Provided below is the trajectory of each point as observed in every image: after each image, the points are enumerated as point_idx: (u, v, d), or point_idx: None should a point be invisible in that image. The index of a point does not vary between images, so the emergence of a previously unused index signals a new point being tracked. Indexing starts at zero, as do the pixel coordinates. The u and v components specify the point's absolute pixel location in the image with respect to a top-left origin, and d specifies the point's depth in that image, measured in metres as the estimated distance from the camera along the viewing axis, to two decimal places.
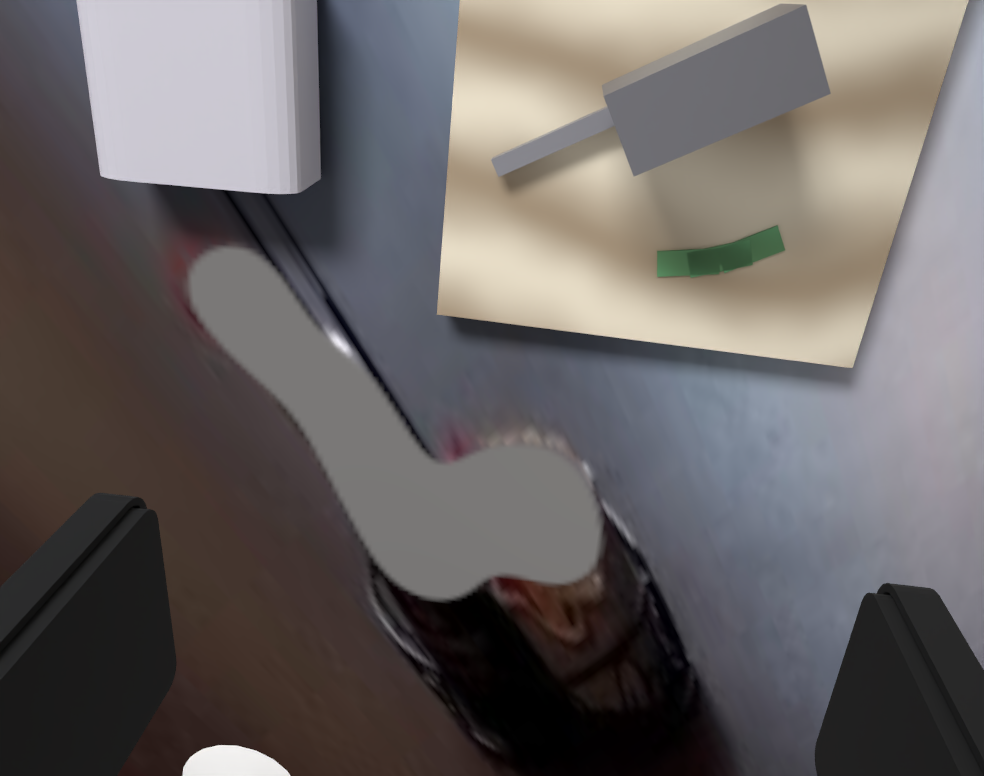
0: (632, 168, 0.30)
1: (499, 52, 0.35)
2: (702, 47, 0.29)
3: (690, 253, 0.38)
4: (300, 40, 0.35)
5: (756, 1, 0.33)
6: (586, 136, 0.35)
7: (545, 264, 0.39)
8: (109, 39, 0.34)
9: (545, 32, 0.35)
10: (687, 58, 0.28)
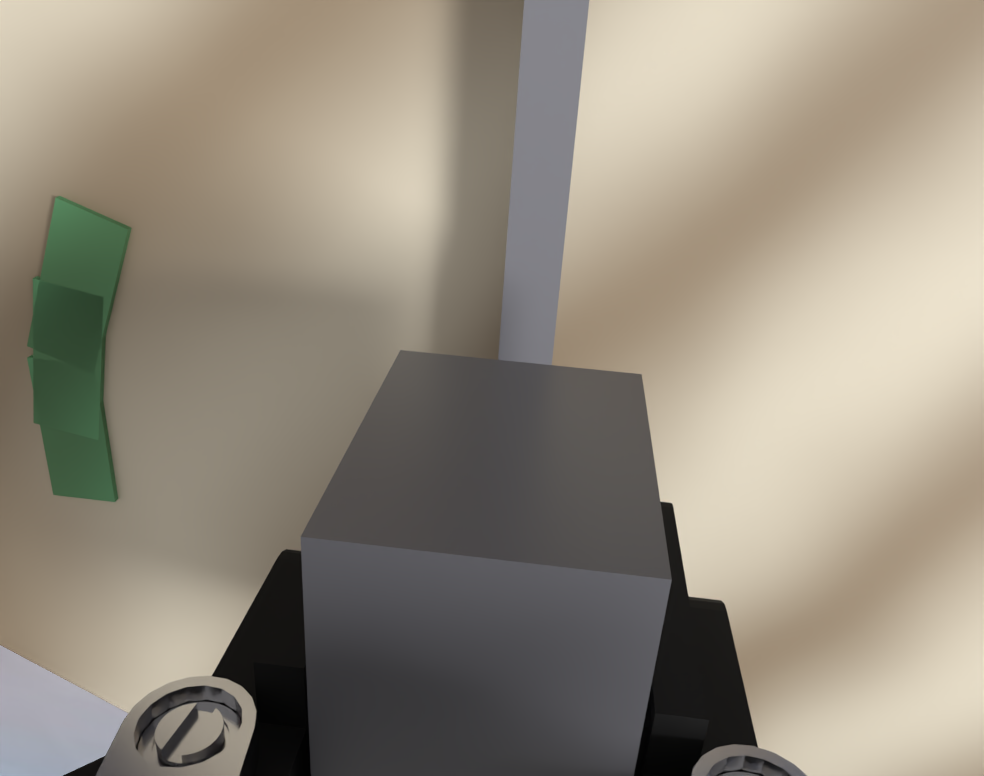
0: (335, 547, 0.07)
1: (864, 67, 0.11)
2: None
3: (100, 304, 0.14)
4: None
5: None
6: (513, 214, 0.11)
7: None
8: None
9: (822, 217, 0.12)
10: None
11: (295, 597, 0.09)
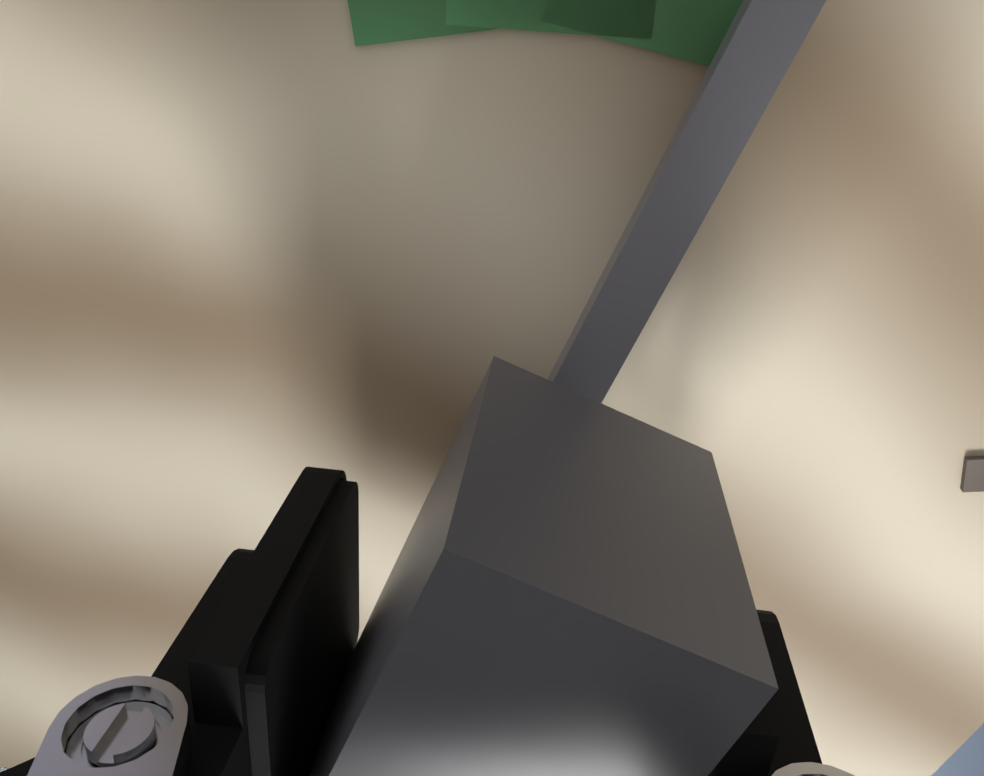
0: (474, 568, 0.07)
1: (912, 670, 0.15)
2: None
3: (639, 32, 0.11)
4: None
5: None
6: (624, 254, 0.11)
7: None
8: None
9: (795, 668, 0.15)
10: None
11: (236, 596, 0.09)
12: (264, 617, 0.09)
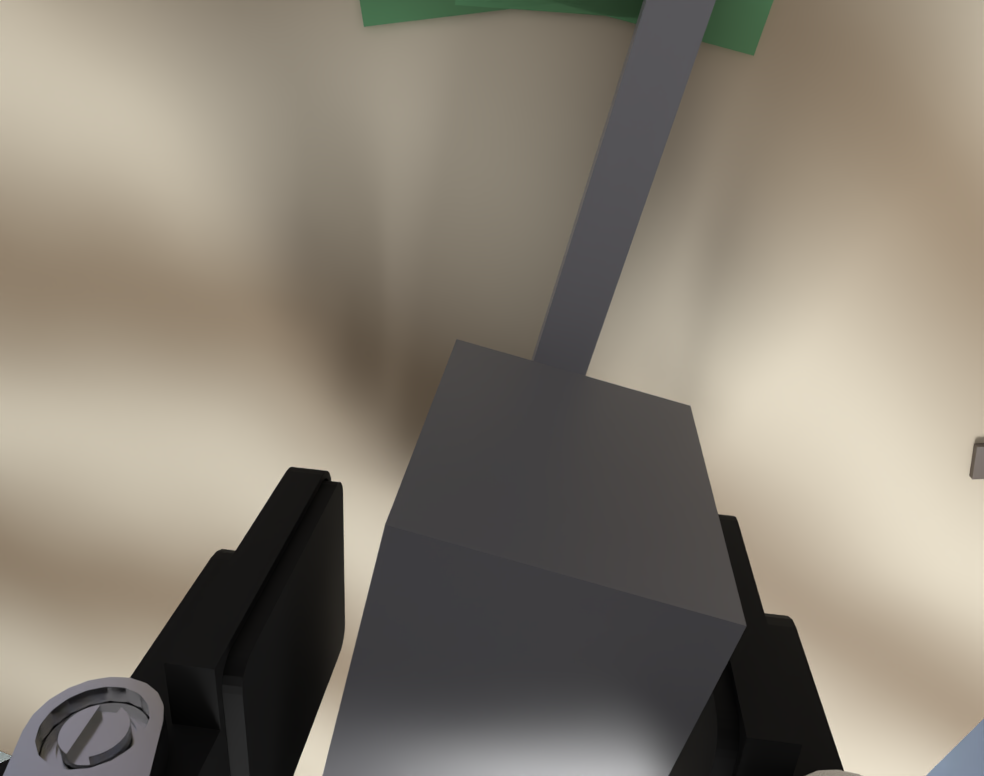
0: (418, 541, 0.07)
1: (919, 658, 0.15)
2: None
3: None
4: None
5: (355, 562, 0.16)
6: (581, 221, 0.11)
7: None
8: None
9: None
10: None
11: (215, 597, 0.09)
12: (243, 619, 0.09)
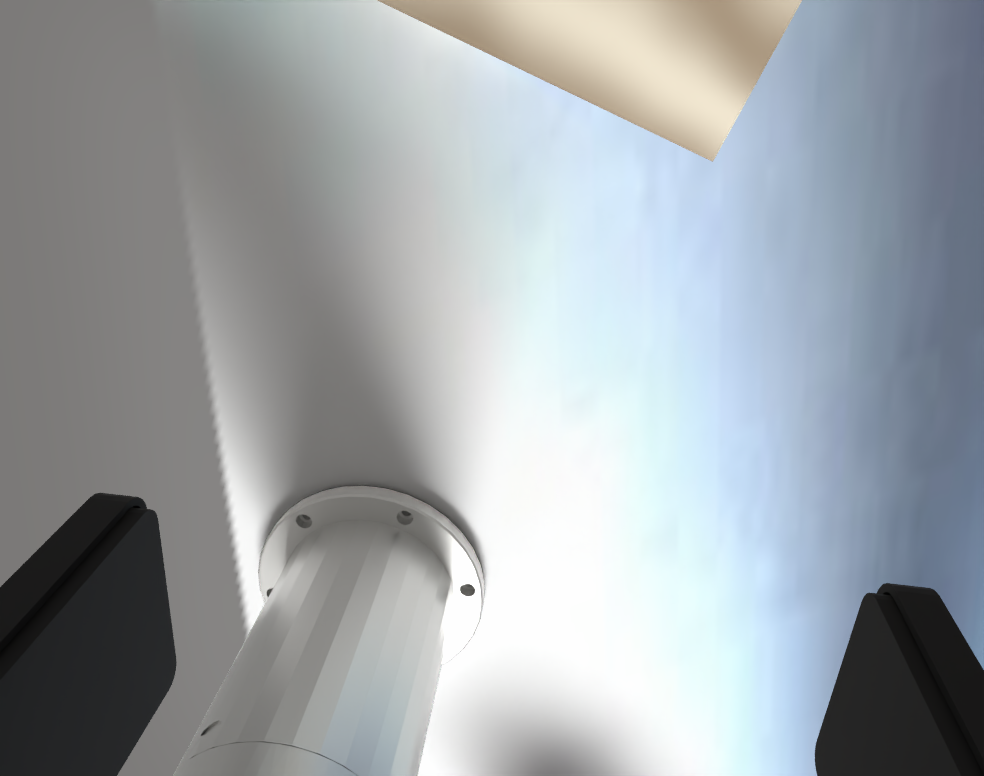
0: None
1: None
2: None
3: None
4: None
5: None
6: None
7: None
8: None
9: None
10: None
11: None
12: None
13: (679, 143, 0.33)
